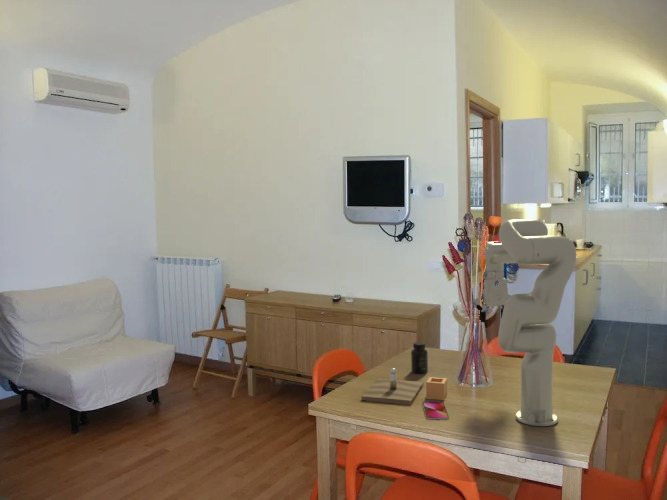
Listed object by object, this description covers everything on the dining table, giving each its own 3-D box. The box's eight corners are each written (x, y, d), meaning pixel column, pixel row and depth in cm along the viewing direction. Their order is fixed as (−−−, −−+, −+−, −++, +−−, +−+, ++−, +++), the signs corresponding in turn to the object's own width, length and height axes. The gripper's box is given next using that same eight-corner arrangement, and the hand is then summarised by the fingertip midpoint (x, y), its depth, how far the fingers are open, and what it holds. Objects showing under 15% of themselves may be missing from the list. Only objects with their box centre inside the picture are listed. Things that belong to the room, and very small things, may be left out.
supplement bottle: (408, 370, 246) (407, 342, 245) (422, 368, 248) (421, 340, 248) (417, 375, 239) (416, 346, 238) (431, 372, 242) (430, 343, 241)
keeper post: (396, 390, 216) (395, 369, 216) (389, 389, 217) (388, 368, 217) (397, 388, 219) (397, 367, 218) (390, 387, 220) (390, 366, 219)
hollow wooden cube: (444, 400, 209) (444, 383, 208) (426, 398, 211) (426, 382, 210) (447, 394, 215) (447, 378, 214) (429, 393, 217) (429, 377, 216)
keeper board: (411, 404, 205) (411, 400, 205) (361, 400, 211) (361, 396, 211) (423, 385, 225) (423, 381, 225) (377, 382, 231) (377, 378, 231)
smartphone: (426, 418, 191) (422, 401, 206) (426, 421, 191) (422, 404, 206) (449, 418, 190) (443, 401, 205) (449, 421, 190) (443, 404, 205)
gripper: (479, 277, 213) (480, 324, 214) (518, 274, 219) (519, 320, 220) (467, 275, 220) (468, 321, 221) (505, 272, 226) (506, 316, 227)
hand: (493, 320), depth 221 cm, fingers open, 9 cm apart
